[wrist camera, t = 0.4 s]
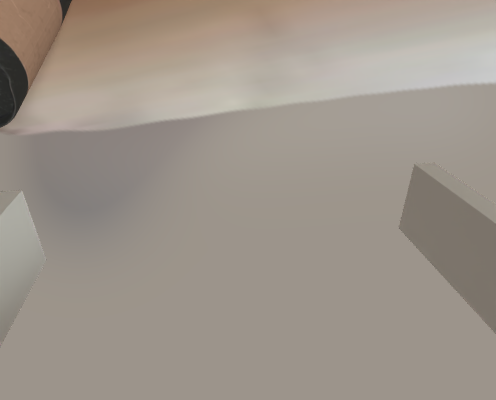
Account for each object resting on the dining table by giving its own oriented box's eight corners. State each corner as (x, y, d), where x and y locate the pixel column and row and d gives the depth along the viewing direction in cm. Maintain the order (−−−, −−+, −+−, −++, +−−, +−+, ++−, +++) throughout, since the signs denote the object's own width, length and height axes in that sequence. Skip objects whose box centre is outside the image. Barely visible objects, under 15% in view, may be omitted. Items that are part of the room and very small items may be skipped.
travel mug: (-2, -23, 36) (-109, 113, 24) (-10, -115, 30) (-155, 6, 18) (82, 8, 38) (21, 143, 27) (88, -71, 33) (15, 58, 21)
